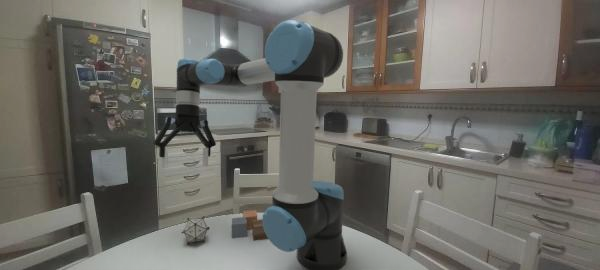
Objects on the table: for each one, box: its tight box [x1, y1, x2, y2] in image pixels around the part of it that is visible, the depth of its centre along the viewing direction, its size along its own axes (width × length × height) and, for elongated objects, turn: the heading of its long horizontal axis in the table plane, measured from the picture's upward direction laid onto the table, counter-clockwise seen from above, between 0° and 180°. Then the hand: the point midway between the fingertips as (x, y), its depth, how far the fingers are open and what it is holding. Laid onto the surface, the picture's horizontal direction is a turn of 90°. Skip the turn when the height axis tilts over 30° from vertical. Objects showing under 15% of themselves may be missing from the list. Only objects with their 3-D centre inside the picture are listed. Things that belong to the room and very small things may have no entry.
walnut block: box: [251, 219, 269, 241], centre depth 92 cm, size 5×5×5 cm
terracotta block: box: [242, 209, 258, 231], centre depth 98 cm, size 5×5×5 cm
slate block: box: [231, 216, 248, 239], centre depth 93 cm, size 5×5×5 cm
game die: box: [181, 215, 210, 246], centre depth 87 cm, size 9×8×10 cm
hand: (185, 166), depth 90 cm, fingers open, 13 cm apart
